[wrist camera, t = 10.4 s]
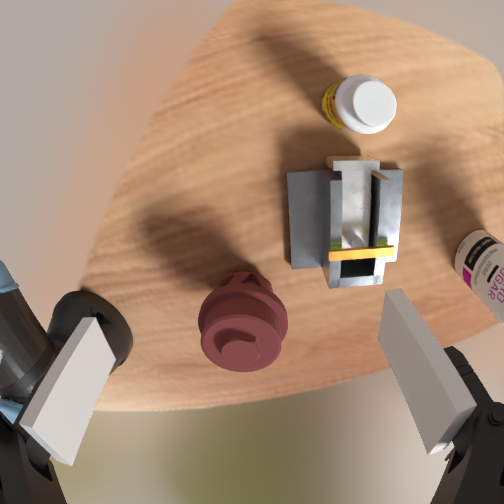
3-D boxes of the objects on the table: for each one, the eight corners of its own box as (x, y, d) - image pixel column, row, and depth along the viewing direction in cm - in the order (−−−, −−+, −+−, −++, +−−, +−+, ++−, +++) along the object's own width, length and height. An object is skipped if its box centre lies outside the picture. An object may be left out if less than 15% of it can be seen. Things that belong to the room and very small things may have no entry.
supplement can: (483, 273, 38) (535, 328, 24) (447, 278, 38) (498, 341, 25) (494, 227, 34) (556, 274, 21) (457, 229, 35) (521, 283, 21)
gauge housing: (291, 265, 38) (295, 292, 32) (286, 171, 33) (290, 183, 27) (393, 257, 37) (411, 281, 31) (399, 168, 32) (423, 180, 26)
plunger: (318, 247, 36) (328, 273, 30) (316, 156, 31) (328, 166, 25) (373, 243, 35) (392, 268, 30) (377, 155, 31) (400, 165, 25)
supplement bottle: (323, 77, 28) (348, 62, 19) (370, 89, 28) (410, 82, 19) (315, 123, 30) (337, 126, 21) (362, 134, 31) (399, 144, 21)
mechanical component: (246, 328, 43) (194, 285, 40) (299, 289, 40) (246, 239, 37) (240, 395, 32) (171, 348, 29) (310, 355, 28) (239, 295, 26)
